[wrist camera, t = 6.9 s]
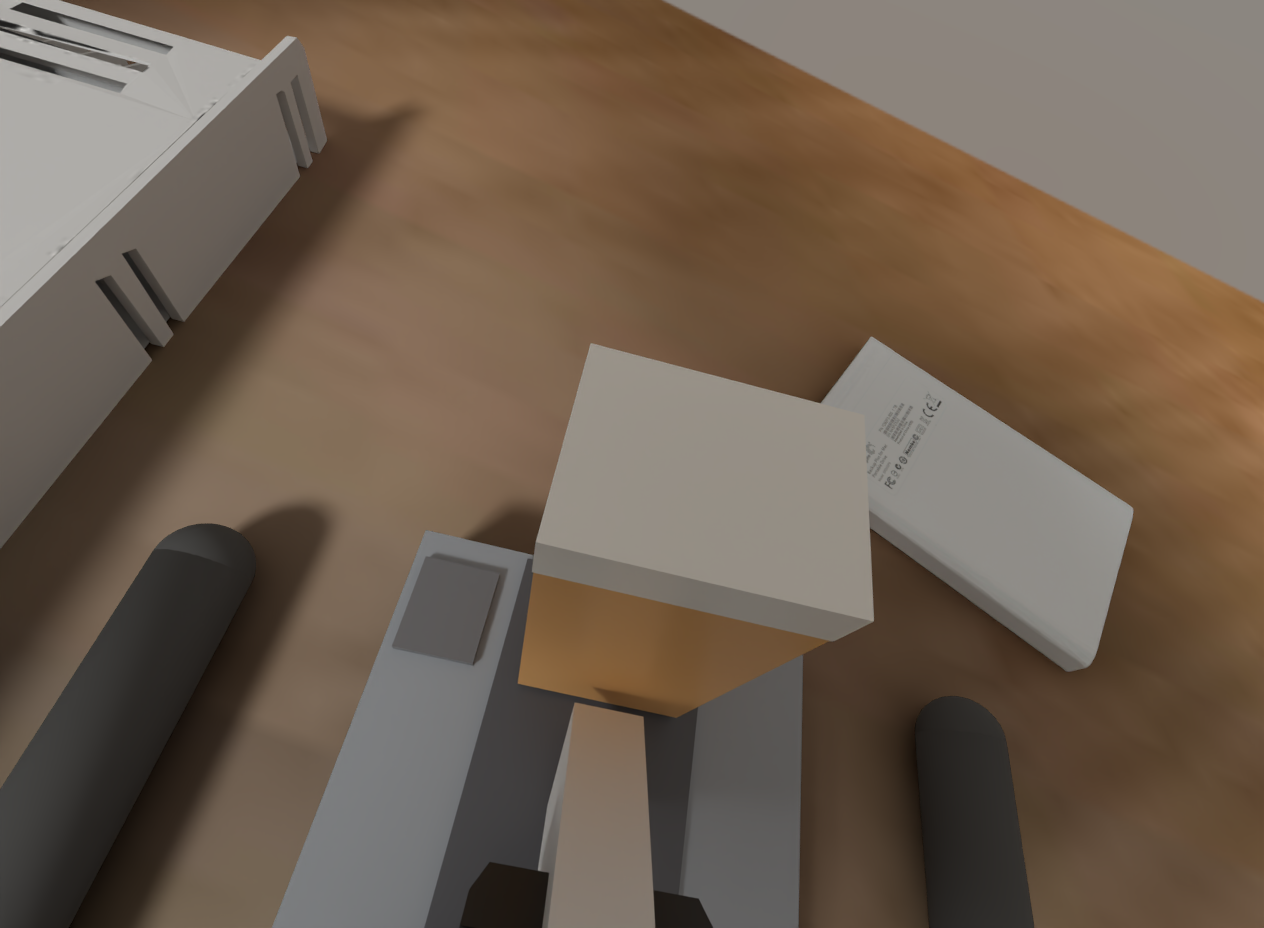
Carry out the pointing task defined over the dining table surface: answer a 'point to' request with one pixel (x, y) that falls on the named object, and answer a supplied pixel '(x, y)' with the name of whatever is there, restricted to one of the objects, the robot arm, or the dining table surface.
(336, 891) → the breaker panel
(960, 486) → the external hard drive
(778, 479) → the block
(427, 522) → the dining table surface
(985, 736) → the dark grey capsule rod
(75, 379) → the power supply unit
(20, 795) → the dark grey rounded rod
